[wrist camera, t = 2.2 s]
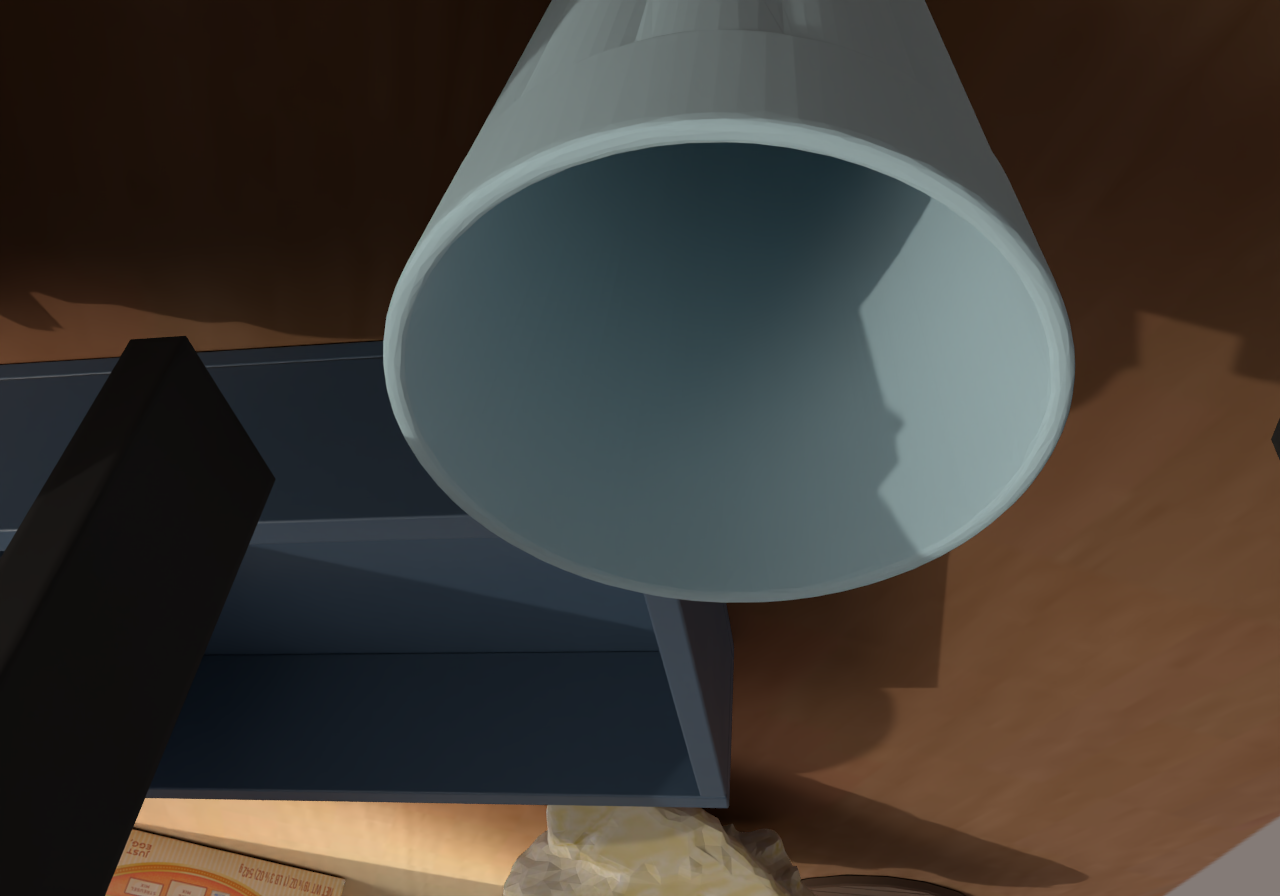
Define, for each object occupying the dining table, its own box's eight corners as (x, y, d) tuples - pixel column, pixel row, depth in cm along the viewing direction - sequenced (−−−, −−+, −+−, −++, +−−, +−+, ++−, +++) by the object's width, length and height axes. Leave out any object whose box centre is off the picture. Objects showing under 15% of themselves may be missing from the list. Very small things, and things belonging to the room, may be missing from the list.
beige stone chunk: (458, 730, 47) (551, 1039, 48) (437, 801, 40) (548, 1161, 41) (793, 634, 47) (874, 942, 49) (833, 686, 40) (927, 1047, 42)
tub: (-117, 371, 29) (-248, 538, 25) (675, 320, 25) (658, 510, 21) (151, 651, 40) (87, 797, 36) (734, 646, 36) (729, 809, 32)
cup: (965, -322, 15) (1106, 56, 8) (970, 139, 21) (1057, 590, 14) (469, -201, 17) (260, 192, 10) (596, 194, 23) (514, 618, 16)
